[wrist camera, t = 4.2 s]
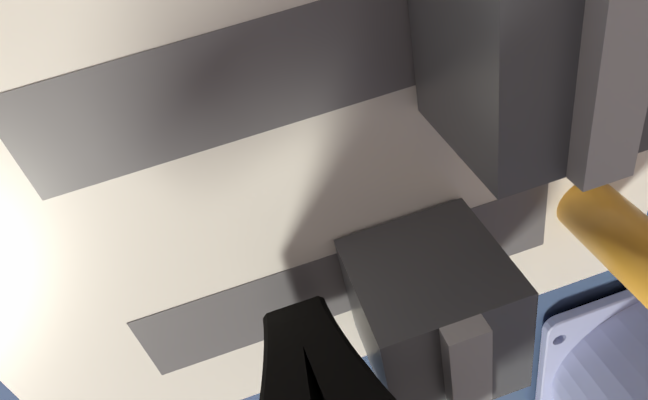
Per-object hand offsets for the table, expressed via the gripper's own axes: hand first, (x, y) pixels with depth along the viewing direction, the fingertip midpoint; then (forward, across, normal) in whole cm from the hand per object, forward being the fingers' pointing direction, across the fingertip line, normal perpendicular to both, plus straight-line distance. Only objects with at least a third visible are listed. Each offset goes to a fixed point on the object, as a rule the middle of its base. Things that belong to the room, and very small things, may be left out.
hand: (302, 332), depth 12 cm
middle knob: (+1, -5, -6) cm, 7 cm away
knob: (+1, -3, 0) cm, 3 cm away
